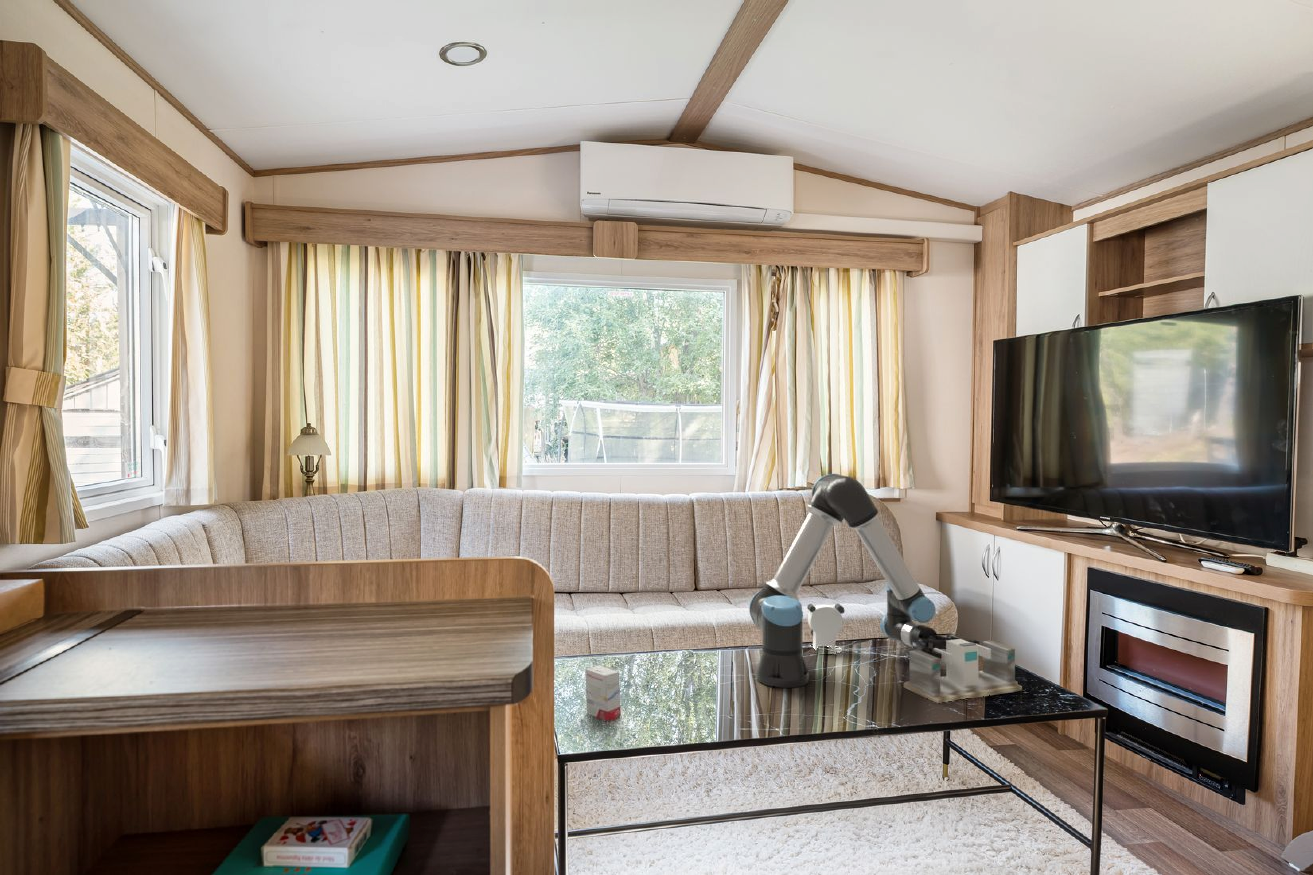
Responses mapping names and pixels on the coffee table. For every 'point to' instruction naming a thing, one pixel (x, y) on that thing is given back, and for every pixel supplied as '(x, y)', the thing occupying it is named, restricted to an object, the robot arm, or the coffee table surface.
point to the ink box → (603, 693)
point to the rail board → (939, 689)
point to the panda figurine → (825, 624)
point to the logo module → (962, 662)
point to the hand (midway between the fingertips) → (970, 656)
